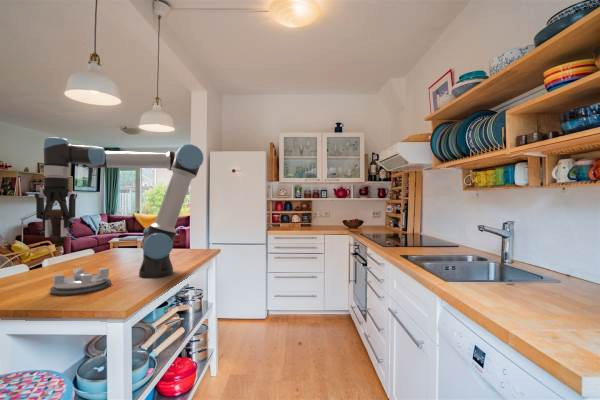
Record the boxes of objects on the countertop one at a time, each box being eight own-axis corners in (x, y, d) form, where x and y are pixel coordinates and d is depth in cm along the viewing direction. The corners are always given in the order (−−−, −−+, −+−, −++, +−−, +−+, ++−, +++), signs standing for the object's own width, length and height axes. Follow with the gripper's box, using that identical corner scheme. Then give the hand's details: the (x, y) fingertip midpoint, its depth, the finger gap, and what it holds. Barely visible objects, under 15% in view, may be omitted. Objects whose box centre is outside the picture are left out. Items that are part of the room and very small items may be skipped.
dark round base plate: (118, 280, 130) (118, 276, 130) (98, 293, 111) (98, 289, 111) (67, 282, 125) (67, 278, 126) (37, 297, 106) (37, 293, 106)
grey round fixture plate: (101, 275, 131) (102, 265, 131) (113, 283, 119) (113, 271, 119) (50, 284, 117) (50, 272, 117) (57, 293, 105) (57, 280, 105)
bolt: (47, 246, 113) (41, 212, 108) (58, 240, 118) (53, 207, 113) (61, 249, 113) (56, 215, 108) (72, 243, 118) (67, 210, 113)
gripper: (86, 178, 118) (86, 234, 118) (36, 177, 114) (36, 236, 114) (77, 177, 111) (76, 237, 111) (23, 176, 107) (22, 238, 107)
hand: (56, 236), depth 112 cm, fingers closed on bolt, 4 cm apart
